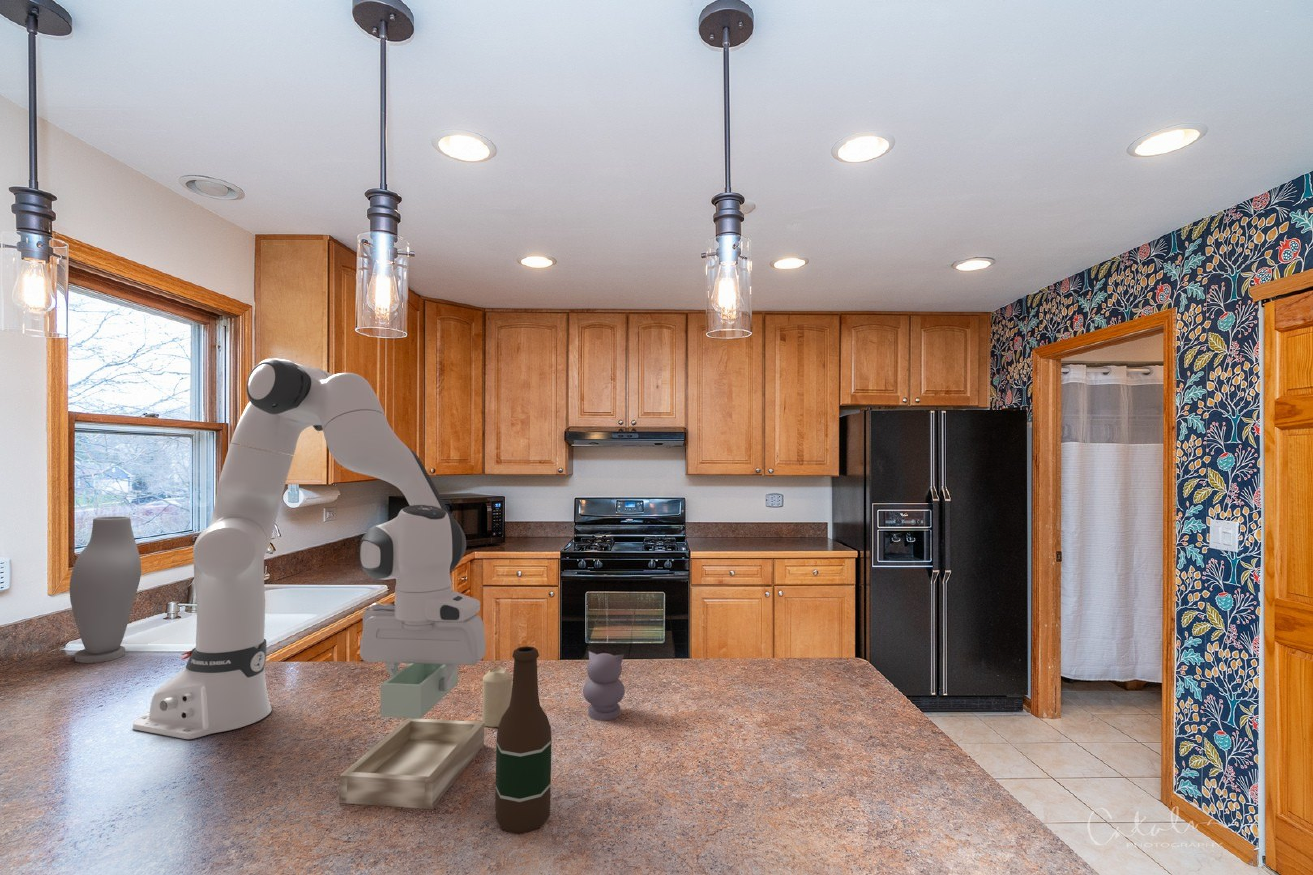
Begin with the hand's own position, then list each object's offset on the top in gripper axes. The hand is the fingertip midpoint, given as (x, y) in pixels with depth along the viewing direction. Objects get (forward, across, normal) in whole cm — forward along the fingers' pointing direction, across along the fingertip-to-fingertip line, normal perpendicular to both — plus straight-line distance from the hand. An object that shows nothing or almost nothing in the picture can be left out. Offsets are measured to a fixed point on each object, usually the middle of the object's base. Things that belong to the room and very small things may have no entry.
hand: (422, 689), depth 102 cm
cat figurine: (+14, +26, +25) cm, 39 cm away
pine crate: (+13, 0, 0) cm, 13 cm away
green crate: (+2, 0, 0) cm, 2 cm away
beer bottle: (+13, +21, -12) cm, 27 cm away
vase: (+13, -105, +45) cm, 115 cm away
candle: (+14, +6, +20) cm, 24 cm away
